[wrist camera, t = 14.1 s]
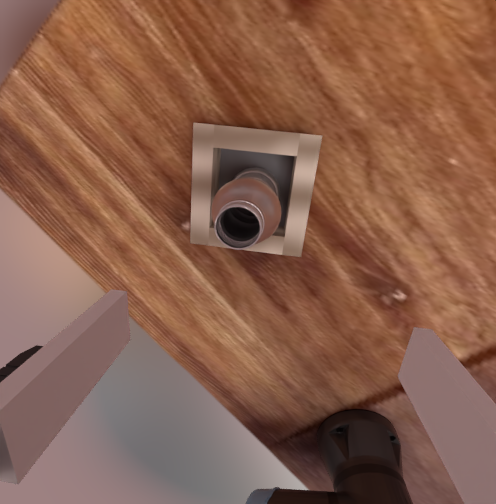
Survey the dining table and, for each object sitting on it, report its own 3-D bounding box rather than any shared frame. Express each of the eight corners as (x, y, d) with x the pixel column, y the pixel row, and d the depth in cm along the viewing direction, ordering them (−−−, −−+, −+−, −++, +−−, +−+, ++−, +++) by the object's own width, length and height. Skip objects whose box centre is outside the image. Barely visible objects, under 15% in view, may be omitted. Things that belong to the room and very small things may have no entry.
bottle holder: (297, 242, 44) (300, 257, 38) (201, 230, 44) (190, 243, 39) (315, 136, 38) (322, 135, 33) (205, 125, 39) (193, 122, 34)
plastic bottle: (232, 165, 40) (192, 182, 21) (281, 166, 39) (285, 187, 20) (232, 211, 42) (195, 264, 23) (278, 213, 41) (279, 269, 23)
